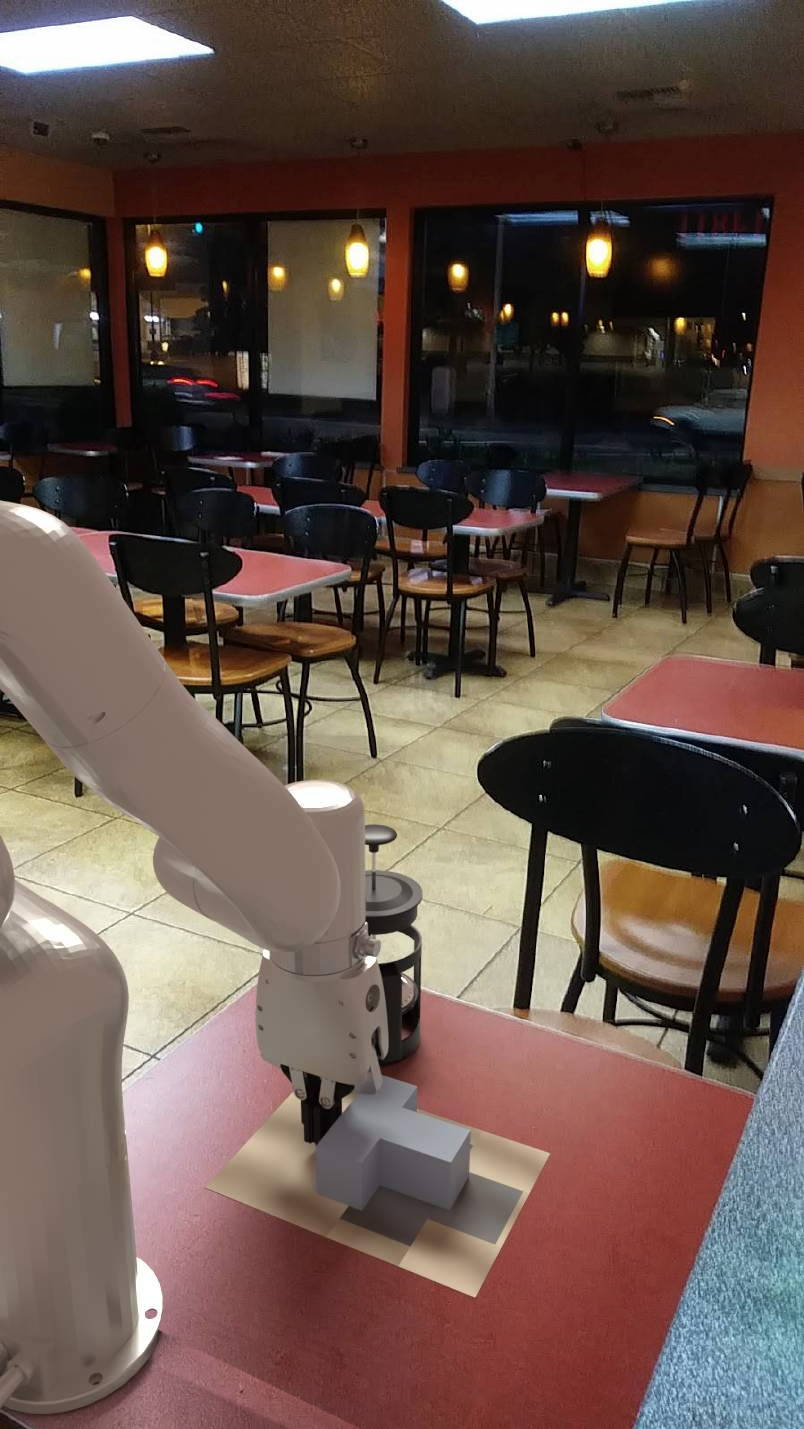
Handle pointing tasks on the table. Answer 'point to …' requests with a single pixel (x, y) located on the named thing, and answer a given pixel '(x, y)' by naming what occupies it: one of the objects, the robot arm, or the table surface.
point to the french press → (389, 913)
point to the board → (390, 1201)
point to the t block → (392, 1151)
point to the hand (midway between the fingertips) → (322, 1133)
